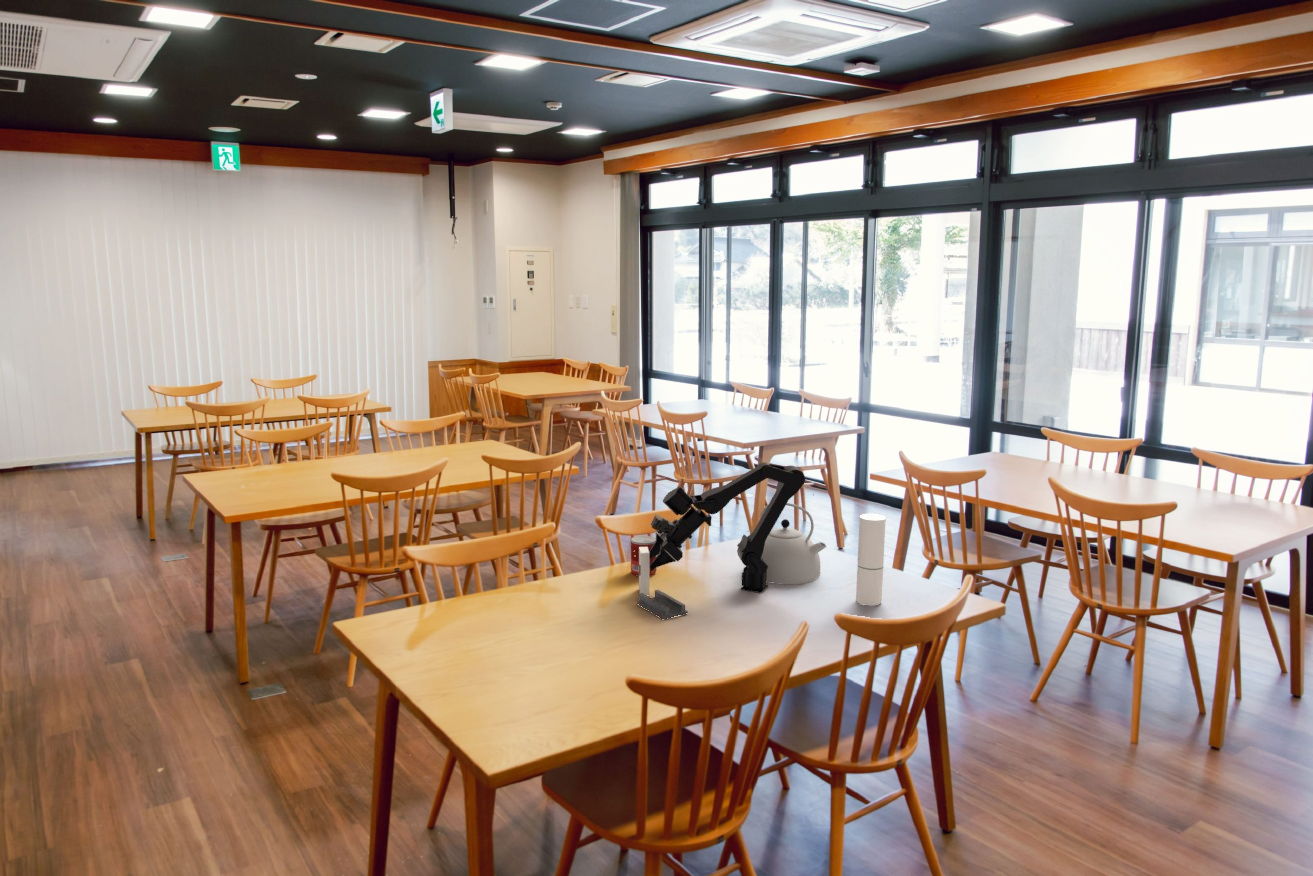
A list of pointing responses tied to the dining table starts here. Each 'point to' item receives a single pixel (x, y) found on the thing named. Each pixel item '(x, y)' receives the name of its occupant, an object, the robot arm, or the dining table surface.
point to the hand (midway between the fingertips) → (648, 562)
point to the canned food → (635, 544)
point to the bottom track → (662, 605)
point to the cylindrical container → (870, 559)
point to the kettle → (791, 554)
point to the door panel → (644, 570)
